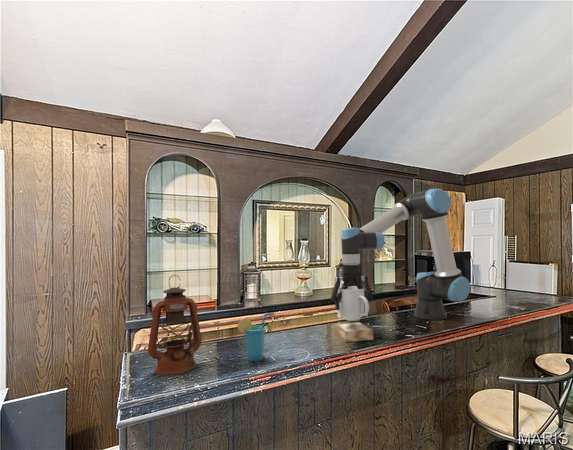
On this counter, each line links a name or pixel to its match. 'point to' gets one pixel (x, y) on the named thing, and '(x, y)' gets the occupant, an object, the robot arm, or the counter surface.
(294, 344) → the counter surface
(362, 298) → the mug
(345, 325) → the pedestal
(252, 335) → the cup
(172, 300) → the lantern
